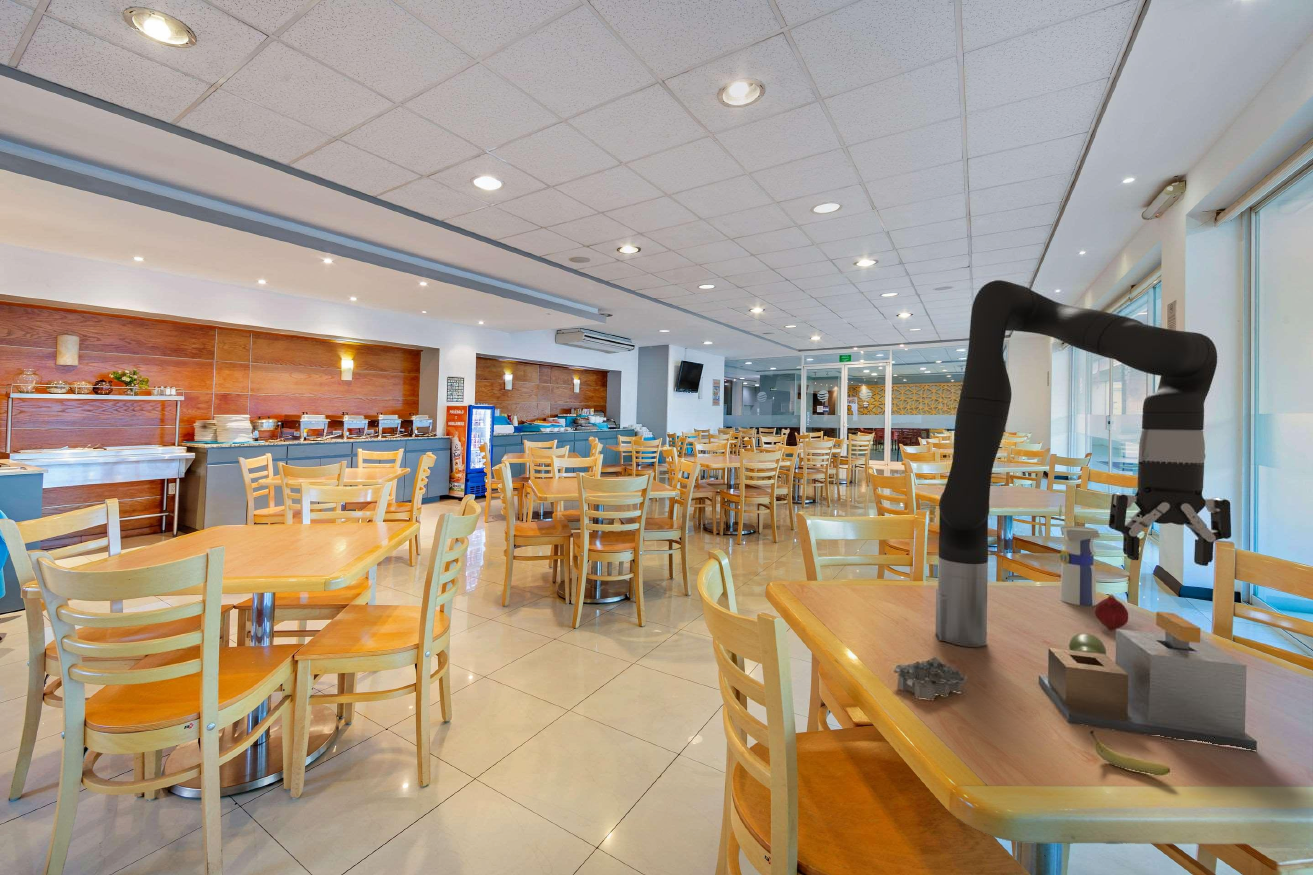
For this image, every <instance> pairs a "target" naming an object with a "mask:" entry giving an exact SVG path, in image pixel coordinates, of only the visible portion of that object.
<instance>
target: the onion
mask: <svg viewBox="0 0 1313 875" xmlns="http://www.w3.org/2000/svg"><path fill="white" fill-rule="evenodd" d="M1094 615H1095V617H1096V619H1097V620H1098V622H1100V624H1101V625H1102V626H1104V627H1105V628H1107V629H1108V630H1109V631H1116V629H1120V628H1122V627H1124V626H1125V625H1127V623H1128V621H1129V611H1128V609H1127V608H1126V606H1125V605H1124V604H1123V603H1122V602H1121V601H1119V600H1117V598H1115V596H1114V595H1113V594H1111V593H1110V594H1108V597H1107V598H1105V599H1102V600H1101V601H1099V602H1098V603H1097V604H1096V605H1095V608H1094Z"/></svg>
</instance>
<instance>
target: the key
mask: <svg viewBox="0 0 1313 875" xmlns="http://www.w3.org/2000/svg"><path fill="white" fill-rule="evenodd" d="M1155 617H1156V618H1155V621H1156V622H1155V625H1156V626H1157V627H1158V628H1160V629H1162V630H1163V631H1165V633H1164V634H1165V647H1166V648H1168V649H1177V650H1186V651H1189V642H1196V643H1200V638H1201V631H1202V630H1201V627H1200V626H1197V625H1195V624H1193V623H1192V622H1190V620H1186V619H1185V618H1184V617H1181V616H1179V615H1178V614H1176V613H1175V612H1165V611H1156V616H1155Z"/></svg>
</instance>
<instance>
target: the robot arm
mask: <svg viewBox="0 0 1313 875" xmlns="http://www.w3.org/2000/svg"><path fill="white" fill-rule="evenodd" d="M969 324H970V325H969V338H968V349H967V356H966V361H965V367H964V368H965V369H964V374H963V380H962V387H961V390H960V394H959V399H958V402H957V409H956V414H955V421H954V423H955V424H954V429H953V430H954V433H953V454H952V455H953V456H952V462H951V467H950V470H949V474H948V476H947V480H946V484H945V487H944V490H943V492H942V494H941V495H940V498H939V503H938V509H939V510H938V511H939V513H938V514H939V519H938V520H939V521H938V522H939V526H938V528H939V529H938V530H939V532H938V563H937V564H938V568H937V569H938V570H937V571H938V572H937V584H938V585H937V588H935V589H936V590H935V633H936V635H937V637H938V639H939V641H940V642H946V643H948V644H953V645H957V646H962V647H969V648H970V647H971V648H979V647H984V646H985V645H987V642H988V640H987V637H988V631H987V630H988V578H989V577H988V573H989V571H988V570H989V566H988V565H989V536H988V535H989V533H988V532H989V531H988V530H989V513H990V496H991V483H992V482H991V481H992V474H993V469H994V464H995V461H996V458H997V455H998V452H999V449H1000V446H1001V445H1002V444H1001V443H1002V440H1003V436H1004V433H1005V430H1006V425H1007V422H1008V418H1009V412H1010V408H1011V403H1012V387H1011V382H1010V377H1009V373H1008V370H1007V367H1006V364H1005V359H1004V343H1005V337H1006V332H1009V331H1010V332H1020V333H1022V332H1023V333H1031V334H1037V335H1038V334H1039V335H1044V336H1047V337H1050V338H1053V339H1056V340H1058V341H1061V342H1063V343H1065V344H1067V345H1070V346H1071V347H1074V348H1076V349H1079V350H1082V351H1085V352H1088V353H1091V354H1095V355H1098V356H1101V357H1104V358H1107V359H1110V360H1115V361H1117V362H1119V363H1121V364H1123V365H1125V366H1126V367H1127V366H1128V367H1130V368H1132V369H1134V370H1137V371H1139V372H1143V373H1146V374H1148V375H1153V376H1159V378H1160V379H1159V383H1158V388H1157V390H1156V391H1155V392H1154V393H1151V394H1149V395H1147V396H1146V397H1145V398H1144V401H1143V403H1142V404H1143V406H1142V416H1141V417H1142V418H1141V420H1142V422H1141V433H1140V434H1141V435H1140V438H1139V443H1138V462H1137V463H1138V464H1137V491H1136V493H1135V494H1134V495H1131V494H1124V493H1119V492H1114V493H1113V494H1112V495H1111V502H1110V510H1109V518H1108V519H1109V520H1108V528H1109V529H1111V530H1114V531H1117V532H1120V533H1121V534H1122V535H1123V537H1122V538H1123V541H1122V543H1123V545H1122V551H1123V552H1122V553H1123V554H1124V555H1126V556H1127V559H1130V560H1132V561H1139V560H1140V559H1139V558H1140V557H1139V556H1140V541H1141V539H1140V537H1139V536H1138V535H1139V534H1140V533H1141V532H1142V531H1144V530H1145V528H1148V527H1150V526H1151V525H1152V524H1153V523H1156V524H1161V525H1166V524H1174V525H1178V526H1184V525H1185V527H1187V528H1188V529H1190V531H1191V532H1192V533H1193V534H1194V536H1196V538H1197V539H1194V557H1193V559H1194V560H1193V561H1194V564H1196V565H1199V566H1203V567H1207V566H1208V565H1209V563H1212V561H1213V559H1214V553H1213V552H1214V544H1215V542H1216V541H1218V540H1223V539H1225V540H1227V539H1230V538H1231V537H1232V518H1231V517H1232V516H1231V502H1230V500H1228V499H1227V498H1226V499H1225V498H1219V497H1212V498H1204V496H1203V490H1204V477H1205V459H1206V452H1205V451H1206V444H1205V438H1204V437H1205V436H1204V426H1205V423H1204V422H1205V402H1206V398H1207V396H1208V394H1209V391H1210V388H1211V386H1212V383H1213V379H1214V377H1215V374H1216V370H1217V364H1218V351H1217V347H1216V345H1215V342H1214V341H1213V340H1212V339H1211V338H1210V337H1209V336H1207V335H1205V334H1203V333H1200V332H1194V331H1186V330H1185V331H1184V330H1182V331H1181V330H1176V329H1170V328H1164V327H1159V326H1158V327H1157V326H1153V325H1150V324H1145V323H1143V322H1141V321H1139V320H1137V319H1134V318H1131V317H1127V316H1124V315H1120V314H1115V313H1112V312H1107V311H1102V310H1098V309H1093V308H1092V309H1091V308H1085V307H1079V306H1072V305H1067V304H1065V303H1064V304H1063V303H1060V302H1057V301H1055V300H1053V299H1051V298H1048V297H1046V296H1044V295H1042V294H1040V293H1038V292H1036V291H1035V290H1033V289H1031V288H1029V287H1028V286H1024V285H1021V284H1016V283H1015V282H1011V281H1007V280H1003V279H995V280H990V281H988V282H987V283H985V284H984V285H983V286H981V288H979V290H978V292H977V293H976V295H975V297H974V300H973V303H972V305H971V314H970V323H969ZM1134 503H1135V505H1136V507H1137V508H1138V509H1139V510H1137V512H1135V513H1134V515H1133V516H1132V517H1131V518H1130V521H1128V522H1126V519H1127V512H1128V511H1127V509H1129V508H1130V507H1132V505H1133V504H1134ZM1204 508H1206V511H1208V512H1209V513H1210V529H1209V527H1208V525H1207V524H1206V522H1205V521H1204V520H1203V519H1202V518H1201V517H1200V516H1199V515H1198V514H1200V512H1201V511H1202V510H1203V509H1204Z"/></svg>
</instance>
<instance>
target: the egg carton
mask: <svg viewBox="0 0 1313 875" xmlns="http://www.w3.org/2000/svg"><path fill="white" fill-rule="evenodd" d="M893 673H894V674H896V675H897V674H898V675H897V676H898V677H897V678H898V679H897V684H898V689H899V688H900V689H899V690H901V689H902V690H901V691H903V690H904V691H907V690H910V691H909V692H911V691H912V693H914V692H915V693H914V698H916V697H917V698H926V699H929V700H932V699H934V698H936V696H935V694H938V695H943V696H947V695H948V696H949V693H950V692H949V691H956V692H962V691H963V684H964V683H966V679H968V676H967V675H966V674H965V675H963V674H961V673H960V671H959V670H958V669H954V668H953V667H952V666H950V665H948V664H947V663H946V662H944V663H943V662H942V661H941V660H939V659H938V658H937V657H932V658H930V659H927V660H925V661H923V660H922V661H921V662H920V661H918V660H917V661H915V662H913V663H908V664H897V665H896V666H895V668H894V670H893ZM914 679H917V680H914ZM919 680H920V681H919ZM948 696H947V697H948ZM917 698H916V699H917Z"/></svg>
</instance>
